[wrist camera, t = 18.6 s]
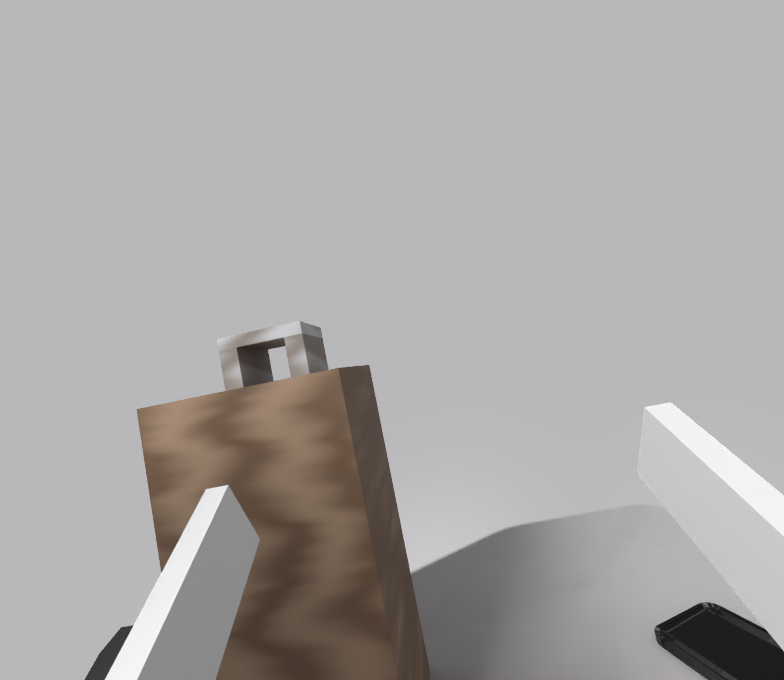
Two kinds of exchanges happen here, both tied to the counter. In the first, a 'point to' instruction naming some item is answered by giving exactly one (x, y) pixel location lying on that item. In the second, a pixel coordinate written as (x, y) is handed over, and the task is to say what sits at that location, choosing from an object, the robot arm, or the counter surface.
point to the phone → (721, 644)
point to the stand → (295, 511)
